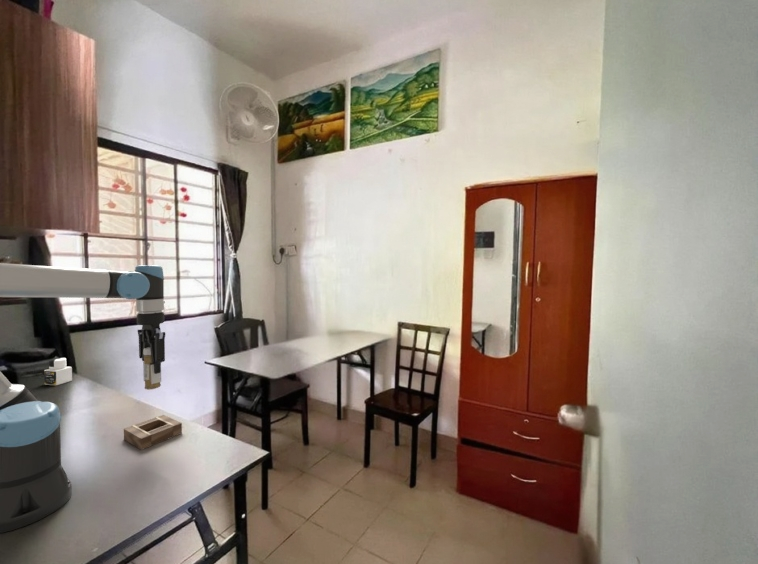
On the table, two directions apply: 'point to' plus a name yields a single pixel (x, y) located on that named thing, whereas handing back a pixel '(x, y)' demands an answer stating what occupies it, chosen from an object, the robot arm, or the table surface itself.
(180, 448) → the table surface
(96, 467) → the table surface
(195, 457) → the table surface
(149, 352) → the sprinkles bottle
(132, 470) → the table surface
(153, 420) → the socket
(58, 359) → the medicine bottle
